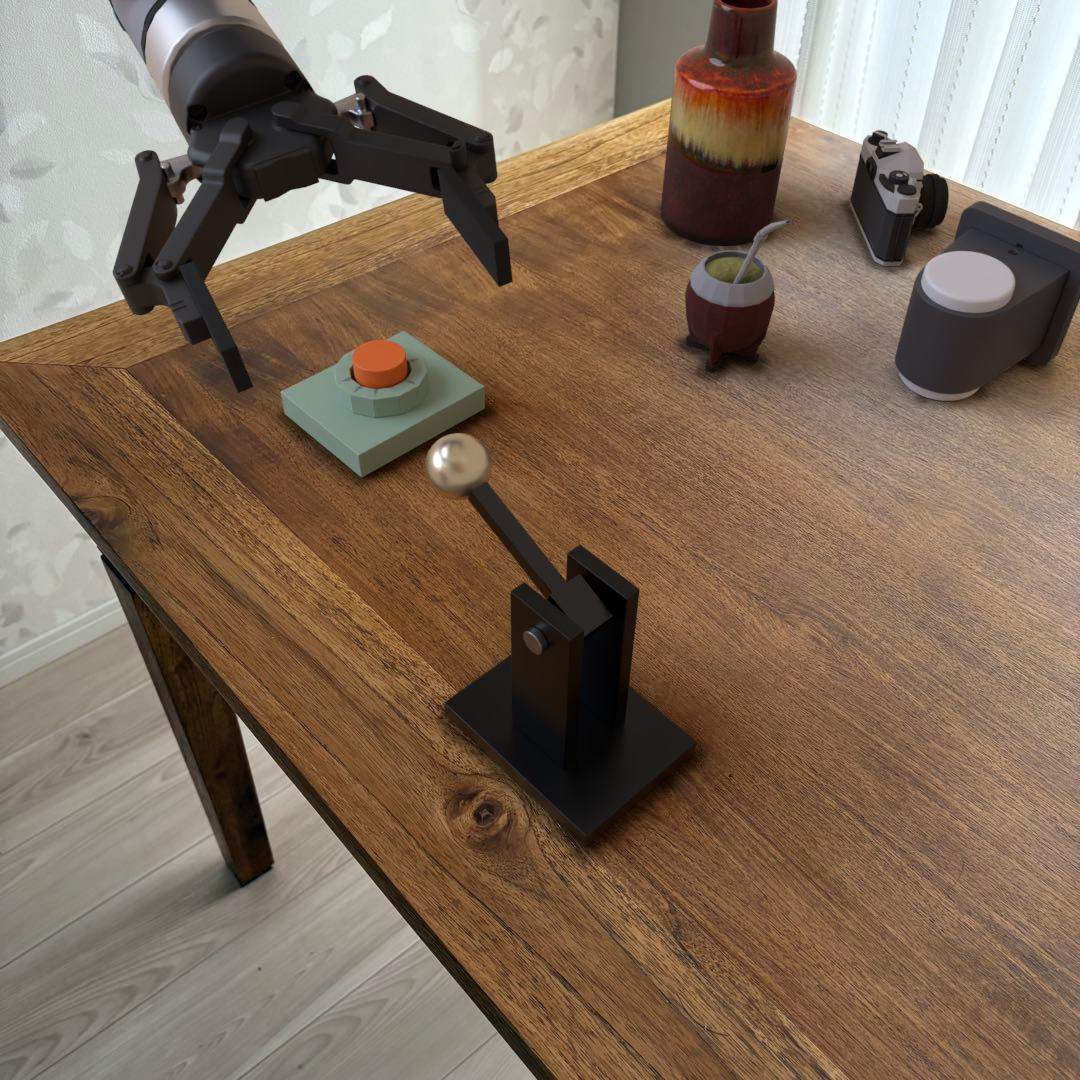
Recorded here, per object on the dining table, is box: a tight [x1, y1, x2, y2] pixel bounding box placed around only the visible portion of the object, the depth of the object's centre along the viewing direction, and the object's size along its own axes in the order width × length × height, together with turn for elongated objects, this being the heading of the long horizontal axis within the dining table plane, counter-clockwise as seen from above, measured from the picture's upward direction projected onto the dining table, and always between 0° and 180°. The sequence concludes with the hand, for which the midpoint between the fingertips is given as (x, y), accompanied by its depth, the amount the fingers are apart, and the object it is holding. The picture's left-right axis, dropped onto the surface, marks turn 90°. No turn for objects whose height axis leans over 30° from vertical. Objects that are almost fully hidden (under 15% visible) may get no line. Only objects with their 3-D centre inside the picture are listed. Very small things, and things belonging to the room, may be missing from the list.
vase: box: [660, 0, 798, 246], centre depth 101 cm, size 11×11×20 cm
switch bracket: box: [443, 544, 698, 849], centre depth 61 cm, size 12×9×13 cm
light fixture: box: [894, 200, 1080, 402], centre depth 88 cm, size 11×13×11 cm
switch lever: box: [424, 432, 613, 641], centre depth 59 cm, size 13×4×4 cm, turn 43°
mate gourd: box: [684, 219, 792, 373], centre depth 87 cm, size 8×8×15 cm
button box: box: [280, 330, 486, 478], centre depth 85 cm, size 12×10×4 cm
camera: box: [849, 129, 950, 267], centre depth 104 cm, size 13×8×9 cm, turn 4°
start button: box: [352, 339, 407, 389], centre depth 83 cm, size 4×4×2 cm
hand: (374, 315), depth 52 cm, fingers open, 13 cm apart
